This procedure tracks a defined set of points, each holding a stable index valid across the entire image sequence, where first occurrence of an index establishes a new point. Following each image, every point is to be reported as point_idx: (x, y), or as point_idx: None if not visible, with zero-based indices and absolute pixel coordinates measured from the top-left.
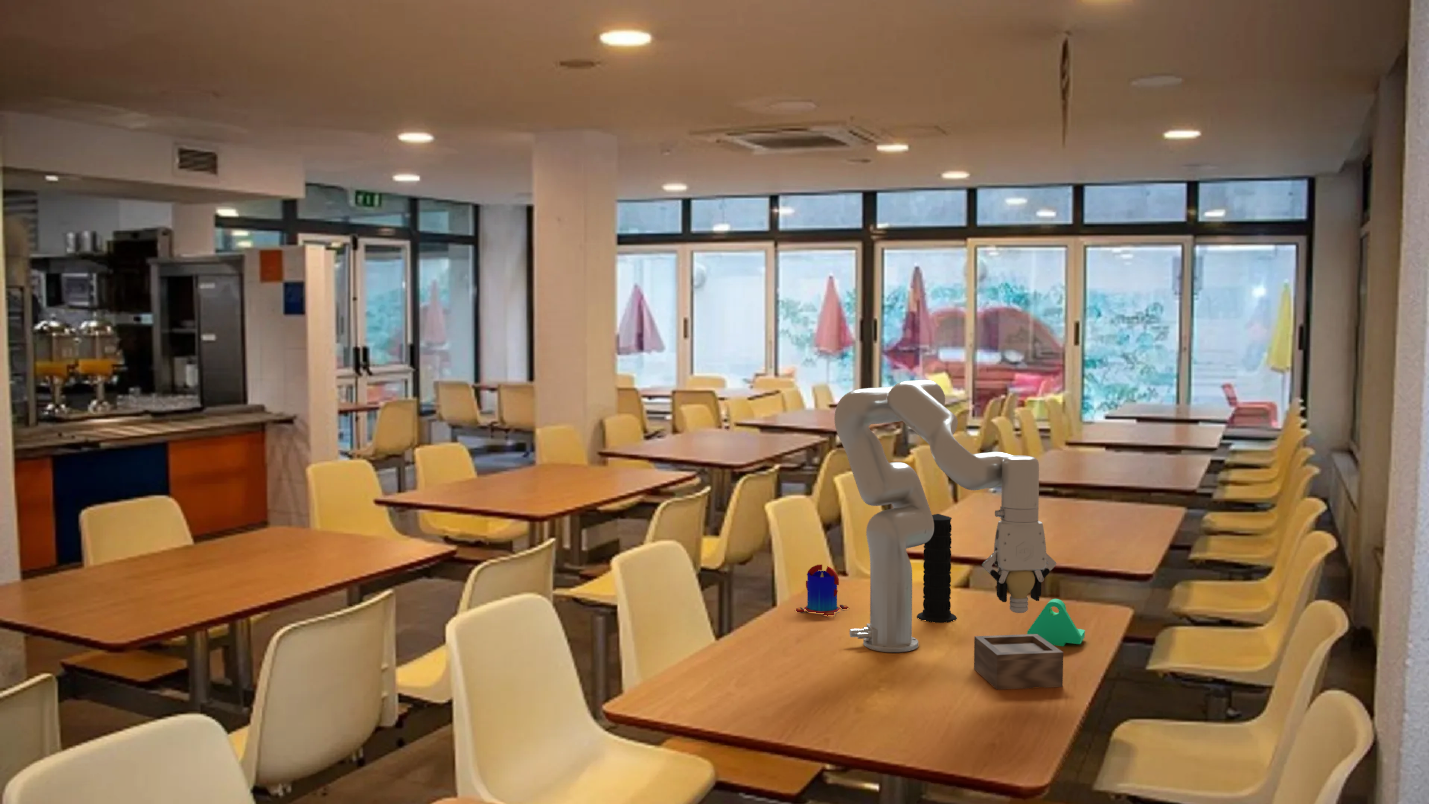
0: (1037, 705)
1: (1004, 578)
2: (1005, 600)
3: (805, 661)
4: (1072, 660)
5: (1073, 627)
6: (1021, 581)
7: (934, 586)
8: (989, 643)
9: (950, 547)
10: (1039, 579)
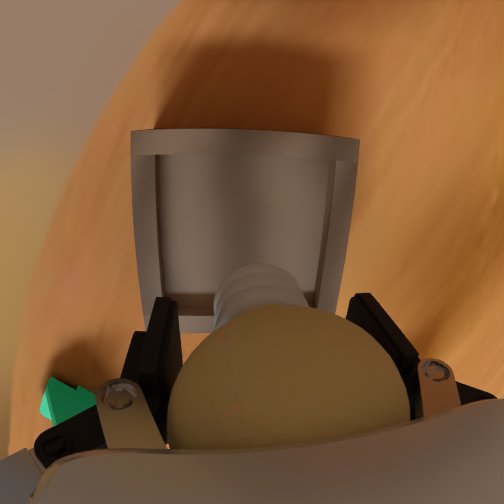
0: (276, 14)
1: (428, 384)
2: (363, 295)
3: (499, 332)
4: (74, 313)
5: (52, 403)
6: (339, 337)
7: None
8: (328, 259)
9: None
10: (131, 397)
